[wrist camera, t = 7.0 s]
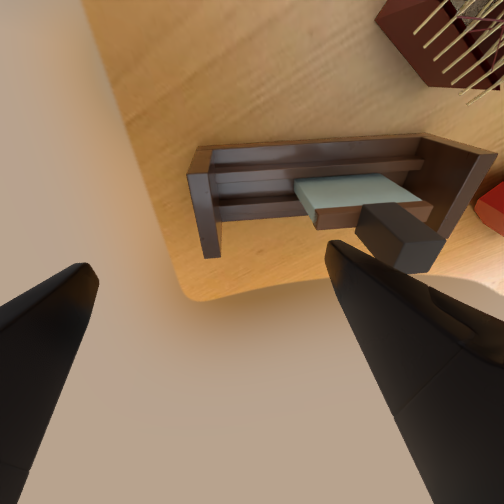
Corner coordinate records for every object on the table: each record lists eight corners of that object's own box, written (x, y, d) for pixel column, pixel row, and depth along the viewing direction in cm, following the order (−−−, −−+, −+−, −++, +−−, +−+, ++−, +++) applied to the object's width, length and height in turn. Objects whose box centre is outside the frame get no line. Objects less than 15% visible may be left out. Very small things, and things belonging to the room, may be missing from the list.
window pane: (292, 196, 19) (340, 281, 11) (294, 172, 18) (349, 248, 10) (374, 190, 19) (476, 268, 11) (381, 166, 18) (501, 235, 10)
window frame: (209, 216, 21) (204, 259, 16) (197, 146, 17) (185, 173, 12) (398, 202, 22) (448, 238, 17) (425, 132, 18) (499, 153, 13)
